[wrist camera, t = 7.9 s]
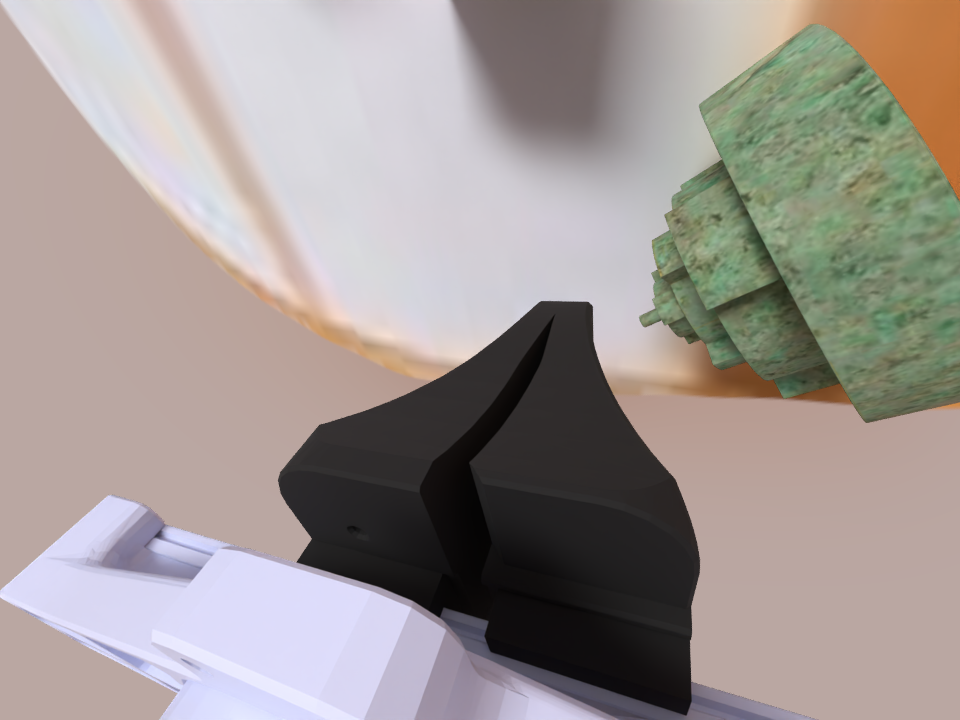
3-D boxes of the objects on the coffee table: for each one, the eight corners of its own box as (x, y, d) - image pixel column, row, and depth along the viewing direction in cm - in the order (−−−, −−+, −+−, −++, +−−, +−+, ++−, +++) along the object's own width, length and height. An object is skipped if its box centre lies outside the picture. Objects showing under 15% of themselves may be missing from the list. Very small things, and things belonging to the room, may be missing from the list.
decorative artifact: (891, 267, 16) (1073, 484, 9) (702, 341, 21) (720, 528, 13) (777, 16, 13) (910, 34, 6) (583, 165, 17) (522, 281, 10)
